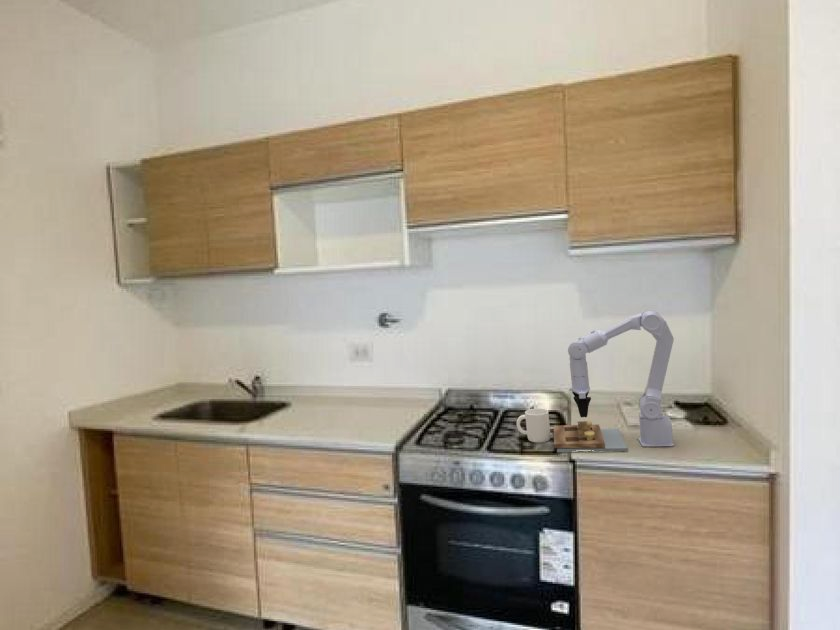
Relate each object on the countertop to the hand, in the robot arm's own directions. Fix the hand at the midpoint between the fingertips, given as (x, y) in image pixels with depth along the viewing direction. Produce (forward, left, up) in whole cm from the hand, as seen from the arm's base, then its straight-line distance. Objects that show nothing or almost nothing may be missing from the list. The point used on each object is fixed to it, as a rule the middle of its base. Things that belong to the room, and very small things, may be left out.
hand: (583, 413), depth 166 cm
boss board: (-1, 0, -10) cm, 10 cm away
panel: (+3, 0, -8) cm, 9 cm away
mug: (+18, -4, -10) cm, 21 cm away
